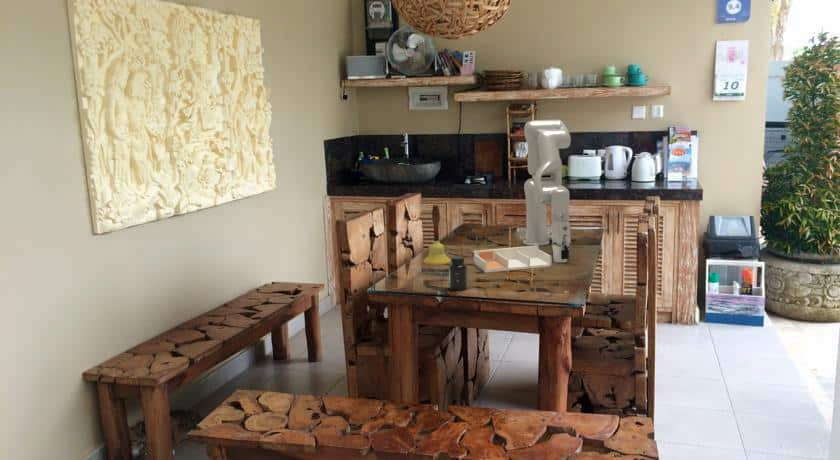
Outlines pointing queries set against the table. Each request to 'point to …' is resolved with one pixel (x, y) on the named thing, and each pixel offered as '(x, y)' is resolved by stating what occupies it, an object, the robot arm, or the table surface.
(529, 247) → the rack
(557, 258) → the white and grey cylinder
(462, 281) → the supplement bottle
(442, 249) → the handbell
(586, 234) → the table surface
